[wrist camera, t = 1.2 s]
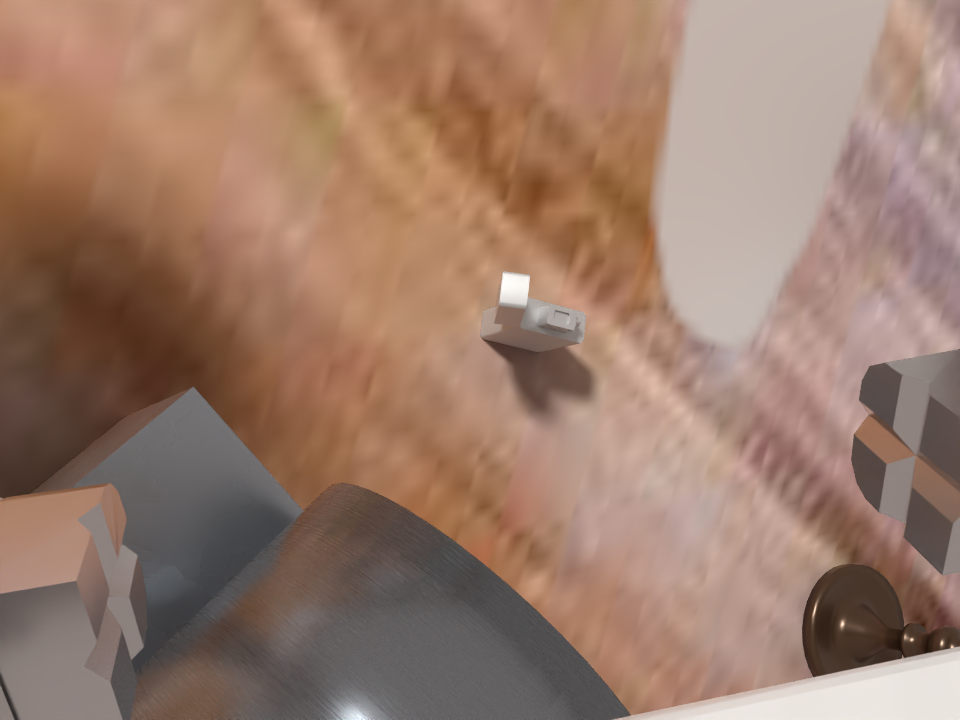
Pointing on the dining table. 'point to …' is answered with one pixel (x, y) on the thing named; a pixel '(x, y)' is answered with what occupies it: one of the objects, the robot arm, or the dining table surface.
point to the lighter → (529, 319)
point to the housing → (313, 594)
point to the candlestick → (862, 623)
